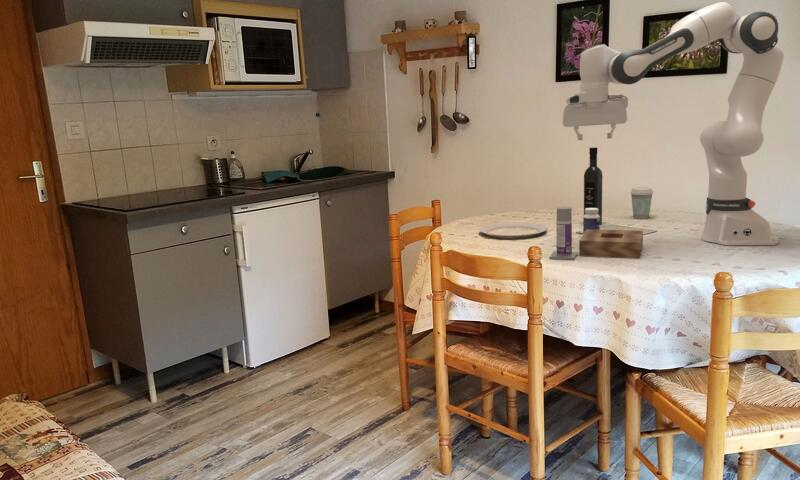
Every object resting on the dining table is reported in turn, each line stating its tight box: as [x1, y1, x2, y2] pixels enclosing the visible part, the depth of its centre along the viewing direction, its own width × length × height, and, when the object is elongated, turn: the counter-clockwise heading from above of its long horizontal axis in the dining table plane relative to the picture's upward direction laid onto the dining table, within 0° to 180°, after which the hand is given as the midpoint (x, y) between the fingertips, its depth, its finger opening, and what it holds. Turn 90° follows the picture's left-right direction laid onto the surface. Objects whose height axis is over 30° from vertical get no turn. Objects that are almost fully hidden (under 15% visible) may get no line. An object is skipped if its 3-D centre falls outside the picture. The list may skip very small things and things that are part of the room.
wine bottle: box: [583, 147, 603, 225], centre depth 243 cm, size 6×6×30 cm
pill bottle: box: [582, 208, 601, 235], centre depth 225 cm, size 6×6×10 cm
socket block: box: [578, 229, 644, 259], centre depth 202 cm, size 18×18×5 cm
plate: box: [478, 221, 548, 239], centre depth 239 cm, size 26×26×2 cm
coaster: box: [549, 250, 579, 261], centre depth 199 cm, size 8×8×1 cm
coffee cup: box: [630, 186, 654, 220], centre depth 252 cm, size 8×8×12 cm
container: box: [555, 206, 573, 256], centre depth 197 cm, size 5×5×15 cm
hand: (594, 139), depth 207 cm, fingers open, 8 cm apart
